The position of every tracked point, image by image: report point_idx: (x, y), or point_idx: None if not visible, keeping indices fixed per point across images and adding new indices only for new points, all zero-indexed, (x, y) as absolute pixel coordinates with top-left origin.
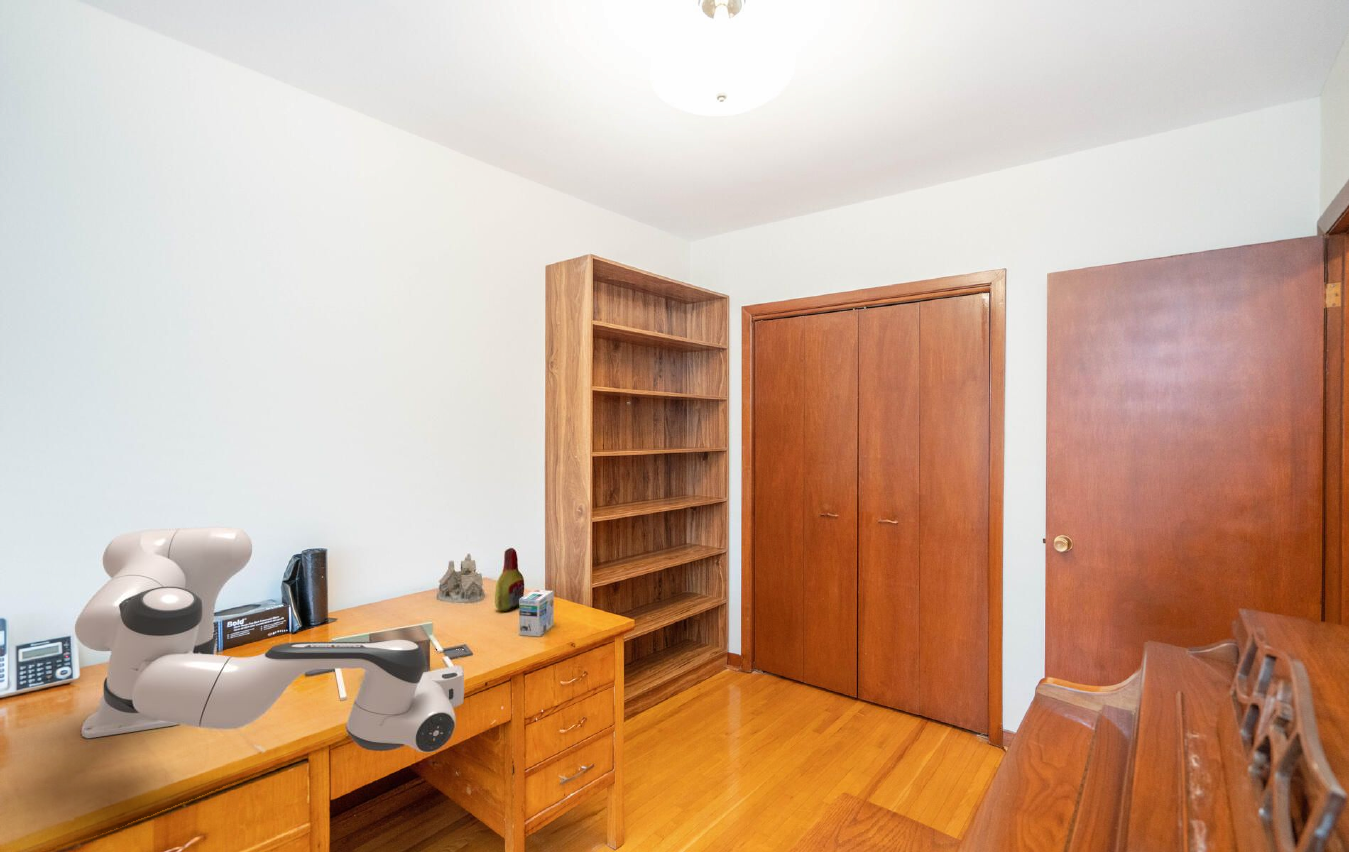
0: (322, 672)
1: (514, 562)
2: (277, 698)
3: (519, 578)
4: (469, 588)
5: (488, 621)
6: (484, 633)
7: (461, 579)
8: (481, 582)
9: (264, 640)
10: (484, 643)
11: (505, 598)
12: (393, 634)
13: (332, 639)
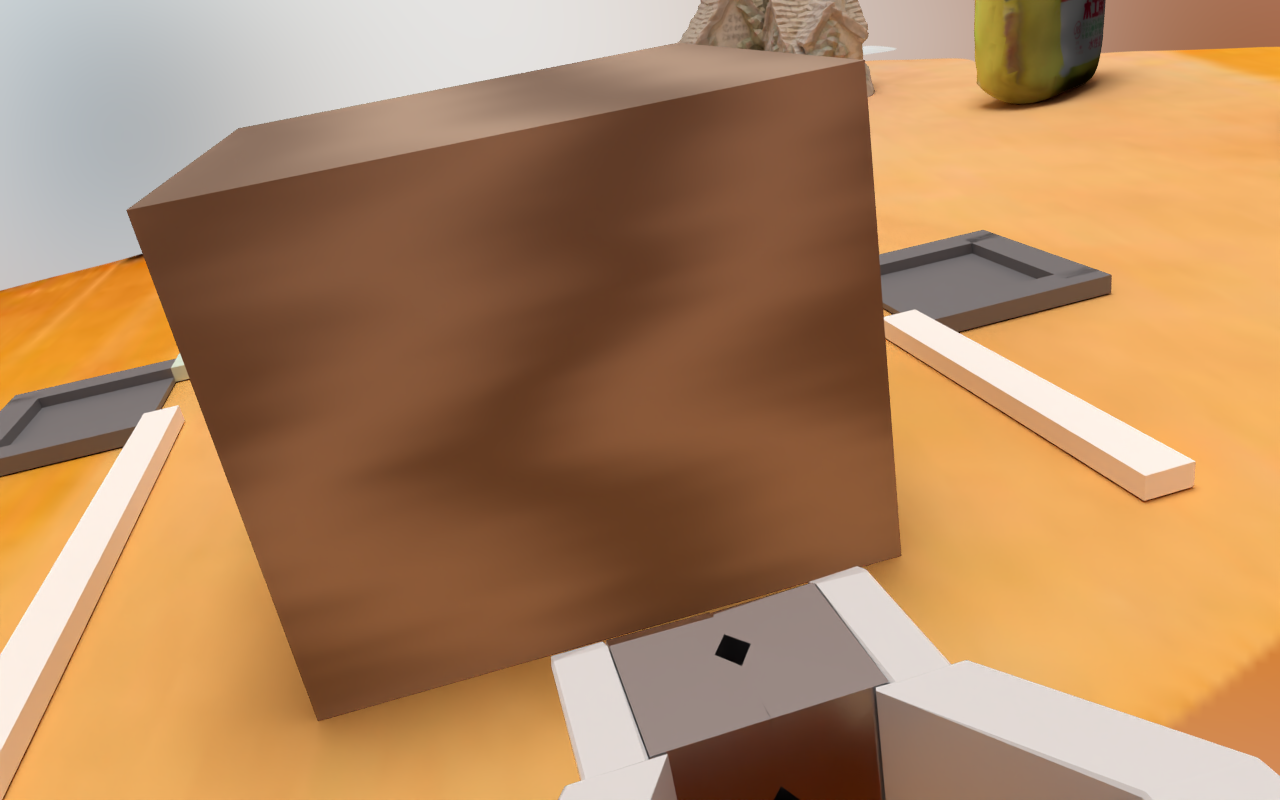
0: (57, 454)
1: None
2: None
3: None
4: (816, 40)
5: (990, 138)
6: (1033, 179)
7: (772, 11)
8: (859, 17)
9: (9, 290)
10: (1106, 221)
11: (1043, 26)
12: (433, 103)
13: None
